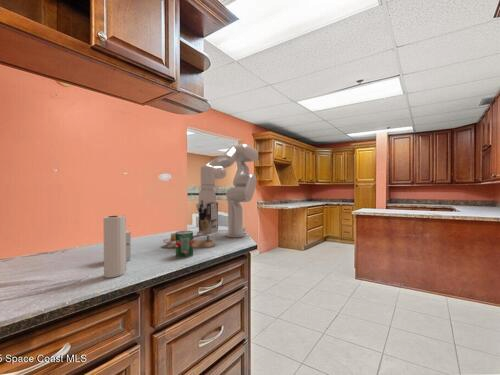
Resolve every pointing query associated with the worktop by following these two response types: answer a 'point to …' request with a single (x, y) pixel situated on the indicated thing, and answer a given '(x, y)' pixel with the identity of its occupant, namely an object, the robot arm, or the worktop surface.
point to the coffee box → (209, 219)
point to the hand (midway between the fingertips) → (207, 218)
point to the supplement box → (128, 246)
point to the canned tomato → (184, 244)
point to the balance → (196, 243)
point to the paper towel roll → (114, 246)
